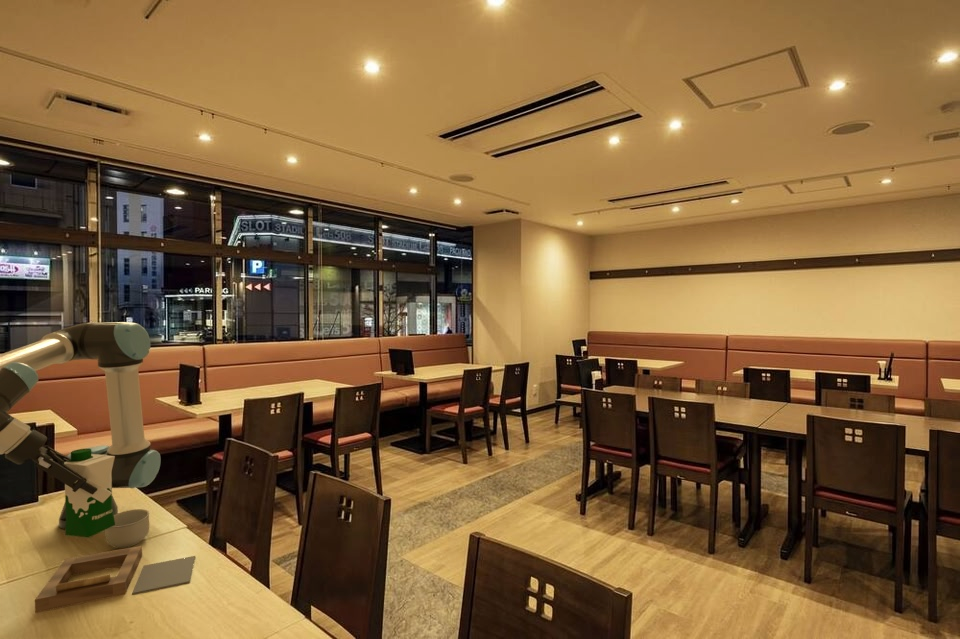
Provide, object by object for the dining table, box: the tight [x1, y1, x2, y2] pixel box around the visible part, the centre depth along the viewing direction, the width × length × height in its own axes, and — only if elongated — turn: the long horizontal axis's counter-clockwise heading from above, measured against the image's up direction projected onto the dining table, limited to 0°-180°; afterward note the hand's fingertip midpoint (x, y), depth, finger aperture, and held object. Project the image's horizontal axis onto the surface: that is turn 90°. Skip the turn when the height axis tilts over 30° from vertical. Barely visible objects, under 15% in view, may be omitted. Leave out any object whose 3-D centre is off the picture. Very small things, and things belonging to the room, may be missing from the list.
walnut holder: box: [34, 545, 143, 613], centre depth 125 cm, size 20×17×5 cm
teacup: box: [103, 508, 150, 549], centre depth 146 cm, size 14×11×8 cm
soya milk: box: [64, 447, 115, 538], centre depth 124 cm, size 9×9×20 cm
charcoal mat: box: [131, 555, 196, 595], centre depth 128 cm, size 14×12×1 cm
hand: (105, 491), depth 126 cm, fingers closed on soya milk, 9 cm apart
